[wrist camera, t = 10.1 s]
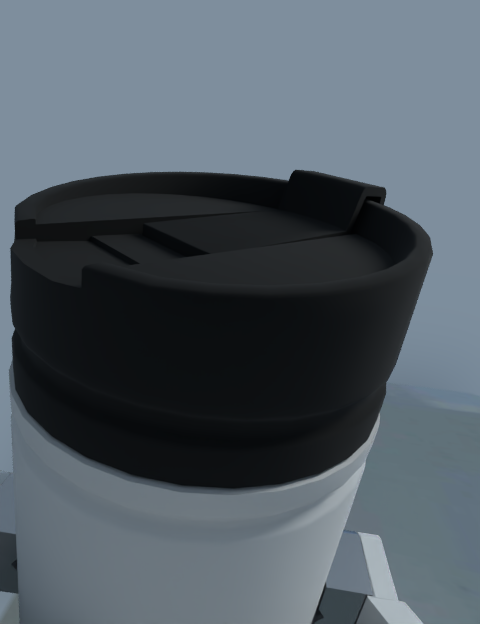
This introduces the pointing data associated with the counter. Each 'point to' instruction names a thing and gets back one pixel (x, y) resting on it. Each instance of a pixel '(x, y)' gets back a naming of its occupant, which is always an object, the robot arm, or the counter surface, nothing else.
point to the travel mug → (198, 389)
